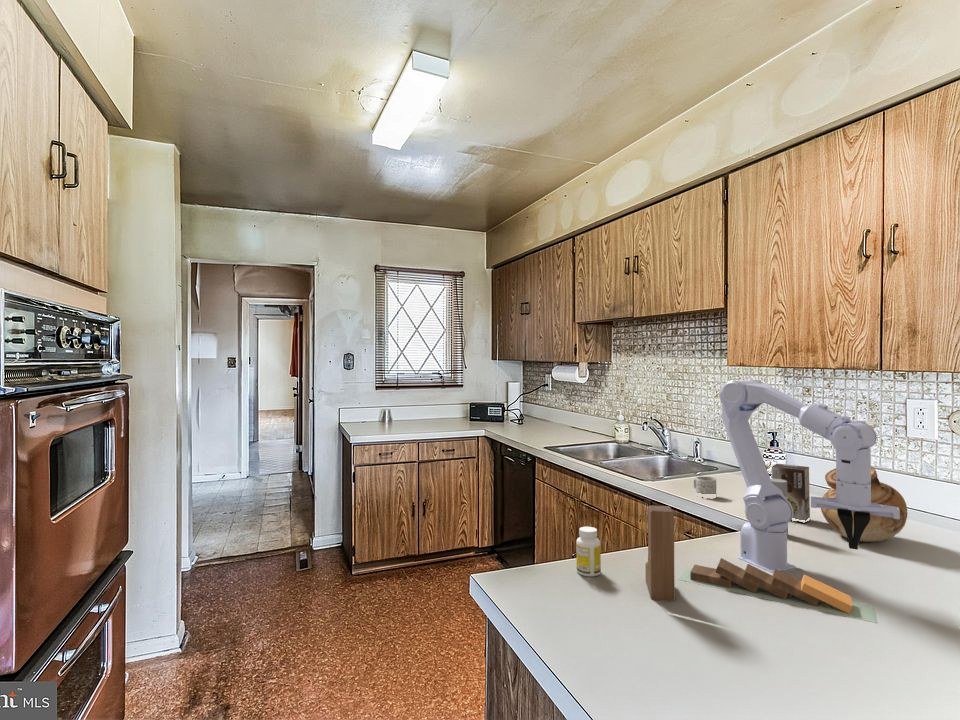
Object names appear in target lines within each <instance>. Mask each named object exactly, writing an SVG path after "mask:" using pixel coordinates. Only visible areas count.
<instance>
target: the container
mask: <svg viewBox="0 0 960 720" xmlns="http://www.w3.org/2000/svg"><path fill="white" fill-rule="evenodd" d="M770 479H771V481H772V483H773V484H774V485H775V486H776V487H778V488H779V489H780V490H781V491H782V493H783V495H784V497H785V498H786V500H787V501H788V494H787V481H786V480H781V479H772V478H770ZM787 535H788V536H789V526H788V527H787Z"/></svg>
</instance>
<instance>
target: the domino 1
mask: <svg viewBox="0 0 960 720" xmlns="http://www.w3.org/2000/svg"><path fill="white" fill-rule="evenodd" d="M716 569H717V568H714V567H710V566H704V565H698V564H694V565H693V567H692V570H691V572H690V580H695V581H700V582H704V583H709V584H714V585H718V586H723V587H728V588H731V587H732V584H733V581H731V580H729V579H727V578H725V577H723V576H722V575H720V574H718V573H716V572H715V571H716Z"/></svg>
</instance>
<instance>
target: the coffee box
mask: <svg viewBox="0 0 960 720" xmlns="http://www.w3.org/2000/svg"><path fill="white" fill-rule="evenodd" d="M771 479H781V480H786V481H787V494H788V502H789V503H790V504H791V506H792V508H793V513H794V514H793V518H795V519H799V520H805V521H806V520H807V519H808V518H809V517H810V518H811V496H810V467H809V466H805V465H803V466H802V465H795V464H785V463H775V464H774V465H772V466H771Z"/></svg>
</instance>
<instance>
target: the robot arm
mask: <svg viewBox="0 0 960 720" xmlns="http://www.w3.org/2000/svg"><path fill="white" fill-rule="evenodd" d="M718 396H719V400H720V402H721V418H722V422H723V425H724V428H725V430H726V434H727V436H728V439H729V442H730V444H731V448H732V450H733V453H734V456H735V458H736V461H737V463H738V466H739V468H740V472H741V474H742V476H743V480H744V482H745V484H746V485H745V486H746V487H747V488H746V491H745V493H744V495H743V498H742V499H743V502H744V514H745V518H746V520H747V521H746V522H745V523H744V524H743V525H742V527H741V530H740V556H738V557H737V559H739V560H741V561H744V562H746V563H747V564H749V565H752V566H753V565H754V567H756V568H757V567H758V568H759V569H762V570H765V571H767V572H770V573H772V574H773V573H774V571H775V569H776V570H778V571H780V572H784V571H789V570H793V569H797V565H795V564H792V563H788V536H787V527H788V528H789V523H790V522H792V521H791V520H792V518H793V514H794V513H793V508H792V506H791V504H790V503H789V502H788V501H787V500H786V498H785V497H784V495H783V493H782V491H781V490H780V489H779V488H778V487H776V486H775V485H774V484H773V483H772V481H771V479H772V478H771V477H770V474H769V472H768V468H767V466H766V464H765V462H764V458H763V456H762V453H761V451H760V448H759V446H758V443H757V441H756V439H755V435H754V433H753V430H752V427H751V425H750V423H749V419H750V418H751V416H752V414H753V413H754V412H755V411H756V410H757V409H758V408H759V407H760V406H762V404H767V405H768V406H771V407H773V408H775V409H778V410H779V411H782V412H784V413H785V414H788V415H791V416H792V417H794V418H797V419H798V421H799V423H800V426H801V427H803V428H805V429H807V430H808V431H810V432H812V433H814V434H816V435H819V436H820V437H822V438H824V439H826V440H828V441H830V443H831V445H832V446H833V447H834V449H835V456H836V457H835V461H836V462H835V464H836V466H835V469H836V498H823V496H822V497H821V496H813V495H812V496H810V508H811V509H817V508H818V509H821V508H825V509H833V510H837V513H838V517H839V519H840V521H841V523H842V525H843V527H844V529H845V532H846V534H847V537H846V538H847V541H848V549H851V550H859V543H860V542H861V541H860V538H861V536H862V533H863V531H864V530H865V528H866V526H867V525H868V523H869V522H870V515H877V516H885V517H892V518H894V519H900V510H899V508H898V507H892V506H886V505H881V504H875V503H871V467H872V465H871V464H872V461H871V460H872V458H871V457H872V455H871V453H872V452H871V451H872V447H874V445H875V444H876V442H877V434H876V431H875V430H874V427H872V426H871V425H869V424H868V423H866V422H865V421H863V420H855V421H852V420H851V417H850V416H849V415H841V414H839V413H837V412H835V411H832V410H831V409H828V408H829V406H828V405H827V404H824V403H819V404H818V403H812V404H809V405H807V404H805V403H803V402H801V401H799V400H797V399H796V398H794V397H792V396H790V395H788V394H786V393H784V392H783V391H781V390H778V389H777V388H775V387H773V386H772V385H771V384H768V383H767V382H762V381H761V380H757V379H752V380H736V379H735V380H733V379H732V380H729V381H727V382H725V383H724V384H723V385H722V388H721V389H720V392H719V393H718ZM852 512H854V534H853V517H852Z"/></svg>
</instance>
